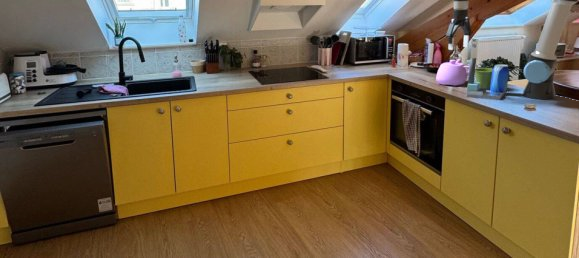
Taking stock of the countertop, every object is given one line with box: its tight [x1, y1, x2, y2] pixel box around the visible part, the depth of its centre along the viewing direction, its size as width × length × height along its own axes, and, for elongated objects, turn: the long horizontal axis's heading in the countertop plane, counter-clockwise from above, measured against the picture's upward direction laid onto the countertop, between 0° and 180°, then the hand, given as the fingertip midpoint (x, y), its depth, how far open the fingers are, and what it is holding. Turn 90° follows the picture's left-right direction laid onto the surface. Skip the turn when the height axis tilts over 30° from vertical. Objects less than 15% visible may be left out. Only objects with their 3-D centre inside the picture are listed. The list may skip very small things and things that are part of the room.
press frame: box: [466, 88, 505, 101], centre depth 237 cm, size 17×11×4 cm, turn 56°
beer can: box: [489, 64, 510, 95], centre depth 240 cm, size 8×8×16 cm
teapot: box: [435, 58, 470, 87], centre depth 270 cm, size 23×21×15 cm
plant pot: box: [475, 67, 493, 90], centre depth 255 cm, size 12×12×11 cm
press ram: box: [466, 57, 480, 92], centre depth 238 cm, size 6×8×19 cm
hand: (458, 48), depth 239 cm, fingers open, 13 cm apart
